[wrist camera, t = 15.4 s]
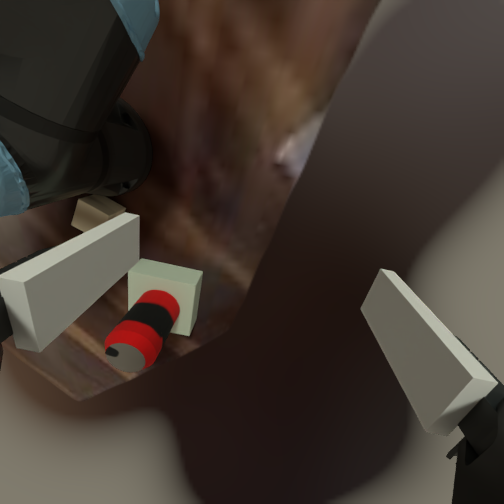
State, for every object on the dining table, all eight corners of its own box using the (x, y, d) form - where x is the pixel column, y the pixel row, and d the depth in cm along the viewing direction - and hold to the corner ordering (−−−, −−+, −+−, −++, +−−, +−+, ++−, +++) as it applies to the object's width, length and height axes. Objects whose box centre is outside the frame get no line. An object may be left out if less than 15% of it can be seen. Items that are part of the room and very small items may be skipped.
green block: (141, 307, 52) (128, 323, 47) (141, 258, 47) (127, 270, 42) (196, 319, 52) (189, 336, 48) (203, 271, 47) (195, 285, 43)
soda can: (148, 281, 43) (106, 329, 32) (187, 300, 44) (159, 353, 33) (134, 310, 46) (92, 363, 35) (171, 327, 47) (141, 384, 36)
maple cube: (117, 230, 45) (100, 240, 40) (91, 216, 44) (70, 225, 40) (126, 207, 43) (109, 216, 38) (99, 192, 42) (78, 199, 38)
